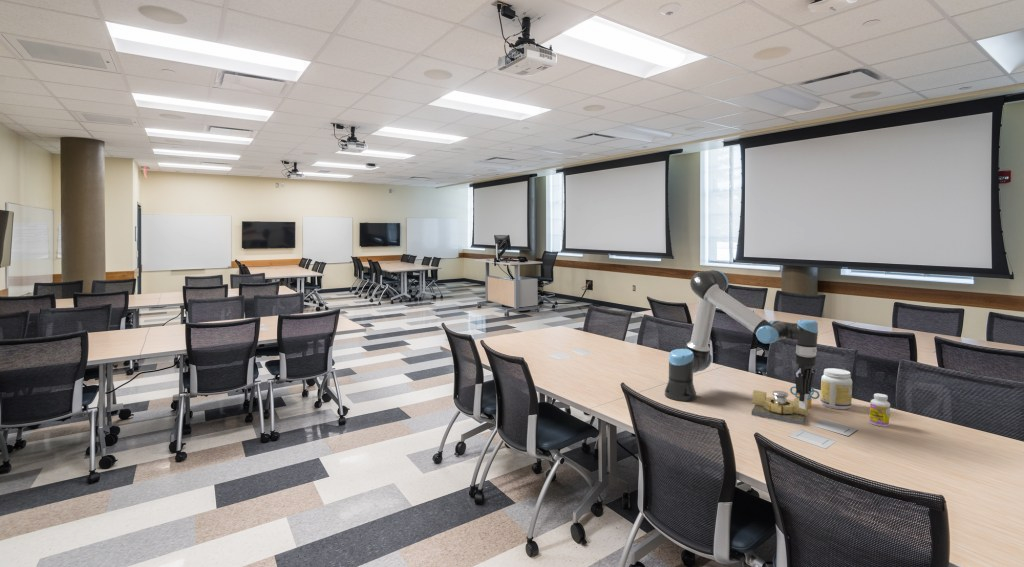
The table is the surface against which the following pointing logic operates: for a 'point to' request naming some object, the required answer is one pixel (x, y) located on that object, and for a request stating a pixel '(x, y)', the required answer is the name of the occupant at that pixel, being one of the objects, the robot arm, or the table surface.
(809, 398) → the cylinder
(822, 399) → the supplement tub
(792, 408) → the tan handled ring
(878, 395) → the supplement bottle
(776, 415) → the flange plate
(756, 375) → the table surface
